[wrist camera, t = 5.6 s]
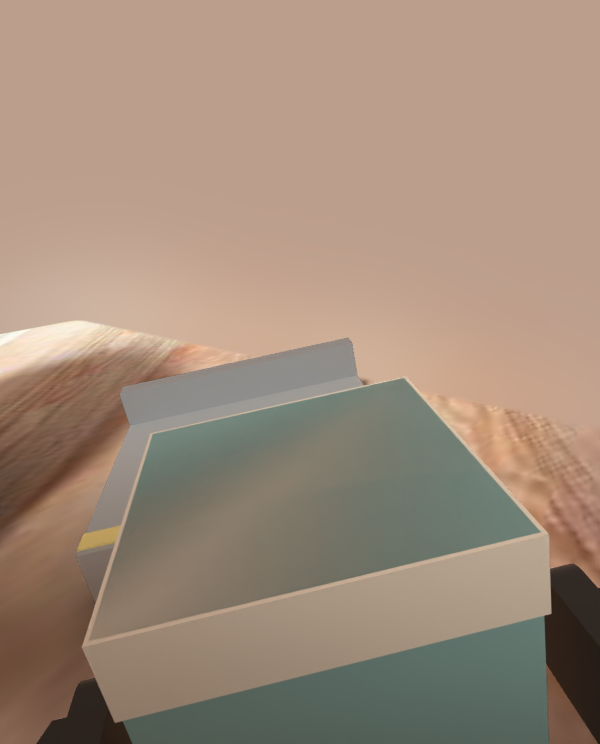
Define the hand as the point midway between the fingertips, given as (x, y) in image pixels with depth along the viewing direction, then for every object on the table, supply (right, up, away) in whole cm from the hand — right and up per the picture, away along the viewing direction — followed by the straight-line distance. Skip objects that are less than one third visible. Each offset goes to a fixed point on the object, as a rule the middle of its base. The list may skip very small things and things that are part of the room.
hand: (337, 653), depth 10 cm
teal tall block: (+1, -7, +1) cm, 7 cm away
